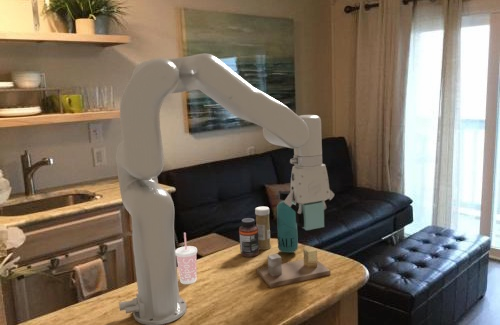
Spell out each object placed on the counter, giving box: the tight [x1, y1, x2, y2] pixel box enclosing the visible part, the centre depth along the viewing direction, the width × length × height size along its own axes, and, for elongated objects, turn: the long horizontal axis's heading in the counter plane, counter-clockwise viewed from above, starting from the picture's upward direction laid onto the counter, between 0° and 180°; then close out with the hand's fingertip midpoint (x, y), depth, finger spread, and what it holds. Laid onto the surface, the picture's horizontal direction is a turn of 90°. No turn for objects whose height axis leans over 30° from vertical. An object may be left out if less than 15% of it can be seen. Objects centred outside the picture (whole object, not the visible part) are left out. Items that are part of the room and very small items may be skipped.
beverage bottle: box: [276, 190, 299, 253], centre depth 137 cm, size 6×7×20 cm
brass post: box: [303, 246, 318, 269], centre depth 125 cm, size 3×3×5 cm
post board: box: [256, 253, 331, 288], centre depth 124 cm, size 18×10×6 cm, turn 110°
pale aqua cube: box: [301, 201, 325, 231], centre depth 123 cm, size 6×6×7 cm
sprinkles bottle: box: [254, 206, 272, 251], centre depth 143 cm, size 5×5×14 cm
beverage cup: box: [175, 232, 198, 285], centre depth 122 cm, size 6×6×14 cm
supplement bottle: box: [238, 217, 260, 258], centre depth 139 cm, size 6×6×11 cm
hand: (310, 223), depth 124 cm, fingers closed on pale aqua cube, 5 cm apart
